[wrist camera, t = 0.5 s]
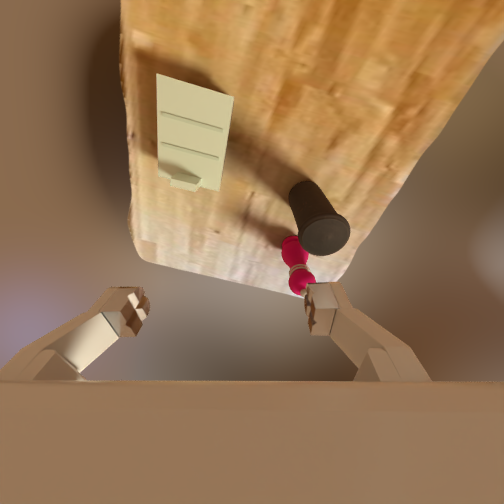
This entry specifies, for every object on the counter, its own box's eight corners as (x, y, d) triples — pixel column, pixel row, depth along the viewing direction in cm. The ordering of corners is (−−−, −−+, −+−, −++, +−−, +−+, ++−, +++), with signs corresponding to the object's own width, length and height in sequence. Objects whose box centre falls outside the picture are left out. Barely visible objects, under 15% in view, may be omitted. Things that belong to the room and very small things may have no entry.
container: (305, 219, 55) (324, 267, 39) (279, 200, 52) (289, 242, 36) (330, 194, 51) (363, 235, 34) (304, 172, 48) (327, 204, 32)
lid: (160, 74, 35) (144, 68, 30) (234, 97, 37) (230, 95, 32) (161, 174, 45) (149, 182, 40) (220, 188, 46) (215, 198, 41)
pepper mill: (281, 233, 58) (289, 283, 41) (306, 233, 57) (325, 283, 41) (279, 254, 62) (286, 307, 45) (303, 254, 61) (319, 307, 45)
